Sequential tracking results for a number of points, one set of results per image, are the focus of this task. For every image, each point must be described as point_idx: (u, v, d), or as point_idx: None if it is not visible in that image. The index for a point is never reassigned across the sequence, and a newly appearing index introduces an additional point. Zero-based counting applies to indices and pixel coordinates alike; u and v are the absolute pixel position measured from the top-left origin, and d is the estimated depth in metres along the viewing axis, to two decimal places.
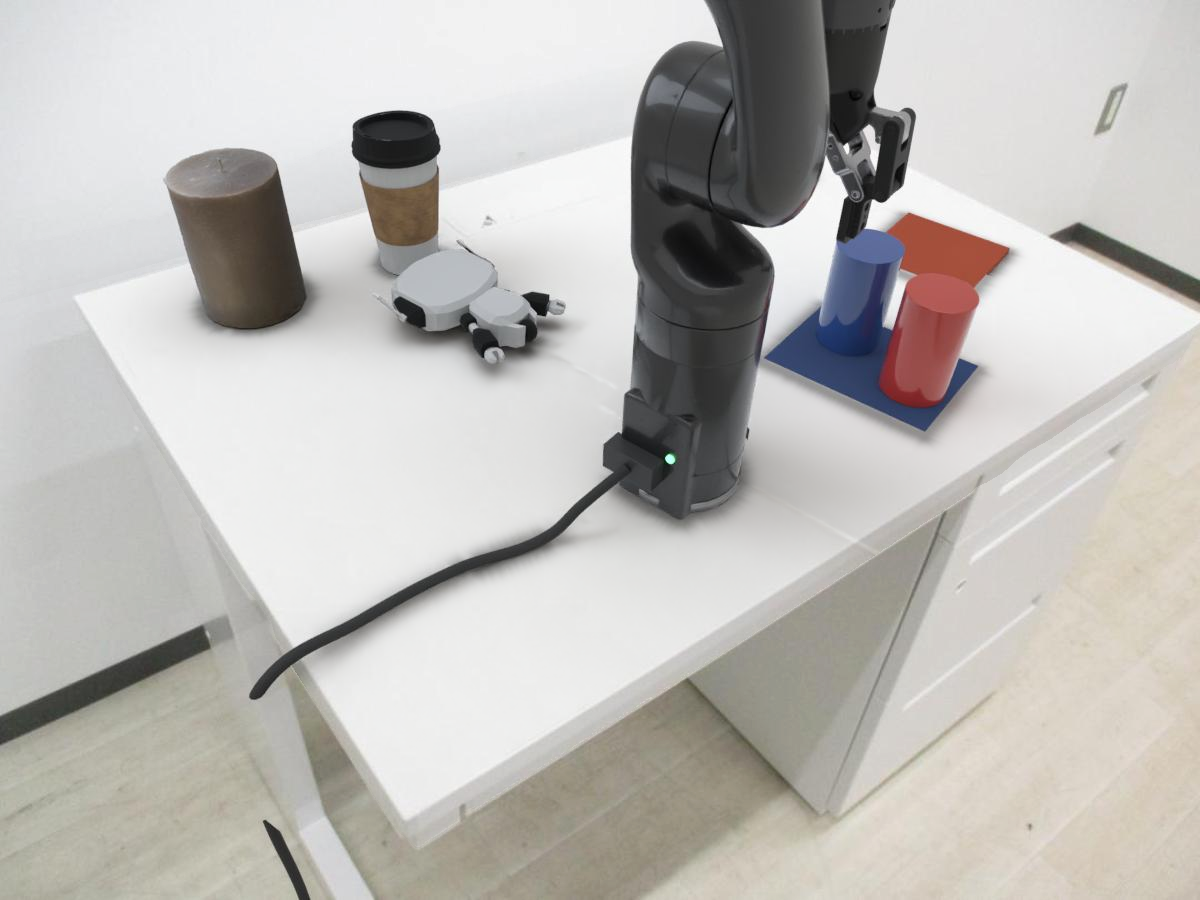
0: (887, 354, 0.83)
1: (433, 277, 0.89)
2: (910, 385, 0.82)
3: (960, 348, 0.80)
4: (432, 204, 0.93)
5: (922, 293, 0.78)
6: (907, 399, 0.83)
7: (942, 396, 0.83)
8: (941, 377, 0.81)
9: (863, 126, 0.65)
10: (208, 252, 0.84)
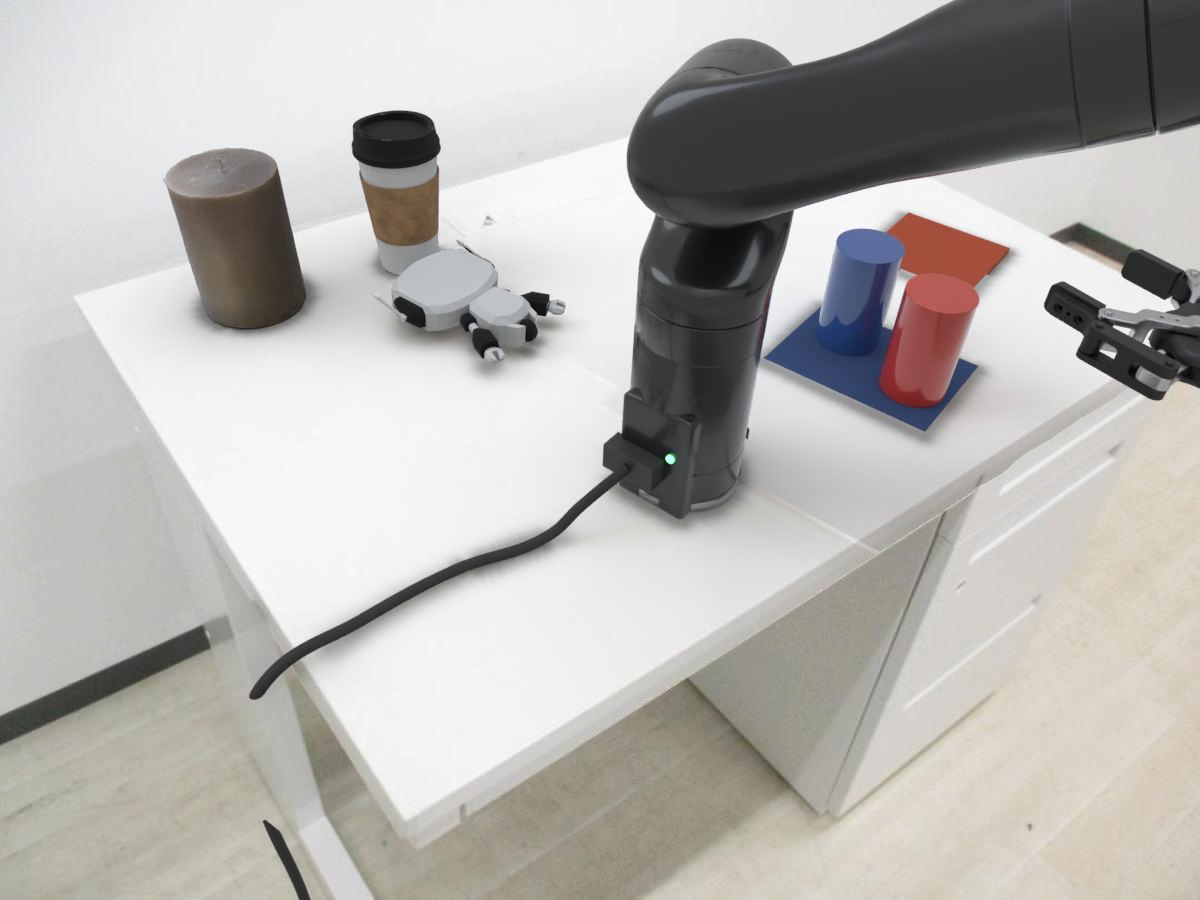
0: (887, 354, 0.83)
1: (433, 277, 0.89)
2: (910, 385, 0.82)
3: (960, 348, 0.80)
4: (432, 204, 0.93)
5: (922, 293, 0.78)
6: (907, 399, 0.83)
7: (942, 396, 0.83)
8: (941, 377, 0.81)
9: (1177, 353, 0.59)
10: (208, 252, 0.84)
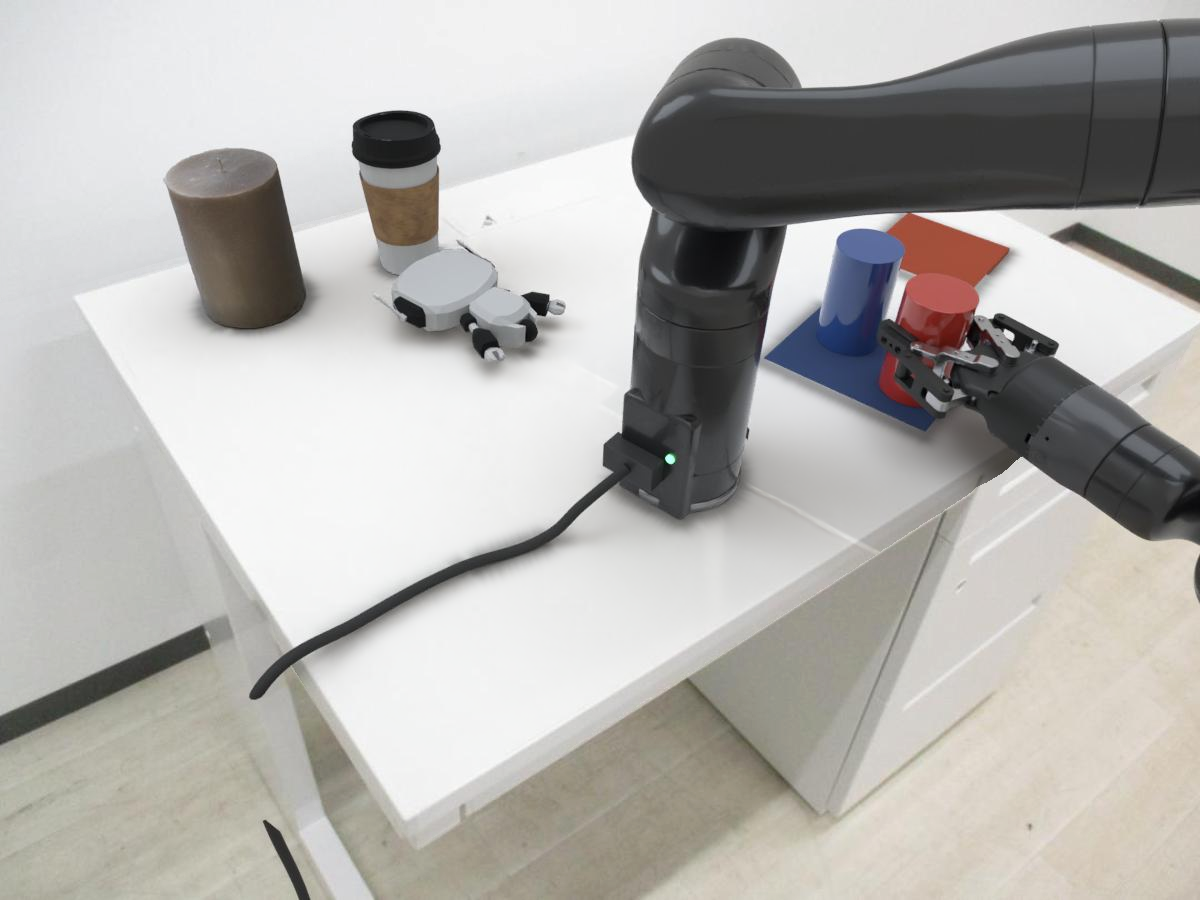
0: (887, 354, 0.83)
1: (433, 277, 0.89)
2: None
3: (960, 348, 0.80)
4: (432, 204, 0.93)
5: (922, 292, 0.78)
6: (907, 399, 0.83)
7: None
8: None
9: (963, 386, 0.75)
10: (208, 252, 0.84)
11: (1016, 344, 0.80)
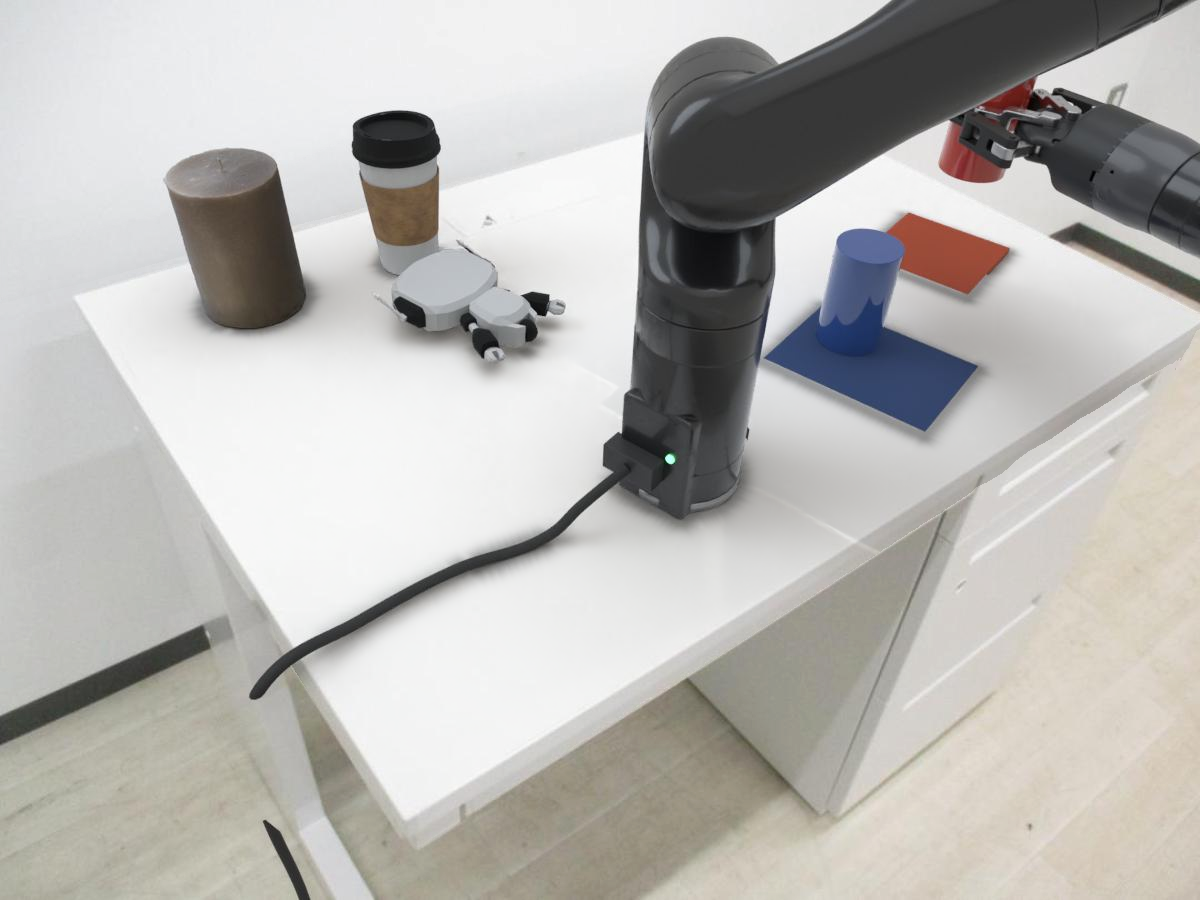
0: (948, 131, 0.86)
1: (433, 277, 0.89)
2: (971, 158, 0.85)
3: None
4: (432, 204, 0.93)
5: None
6: (968, 174, 0.86)
7: (1002, 172, 0.86)
8: None
9: (1027, 137, 0.78)
10: (208, 252, 0.84)
11: None
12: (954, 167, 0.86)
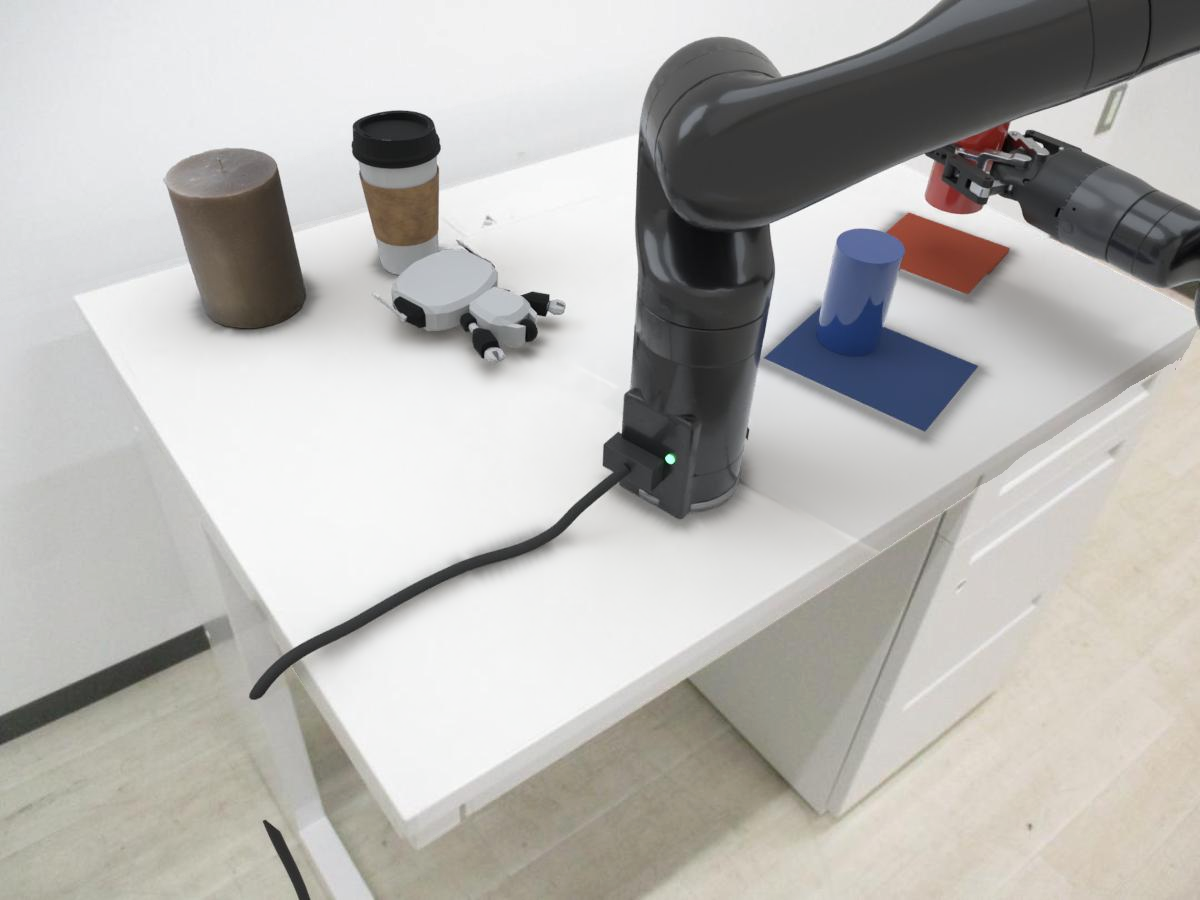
0: (933, 168, 0.97)
1: (433, 277, 0.89)
2: (953, 192, 0.95)
3: None
4: (432, 204, 0.93)
5: None
6: (951, 206, 0.96)
7: None
8: None
9: (1001, 177, 0.88)
10: (208, 252, 0.84)
11: None
12: (938, 200, 0.97)
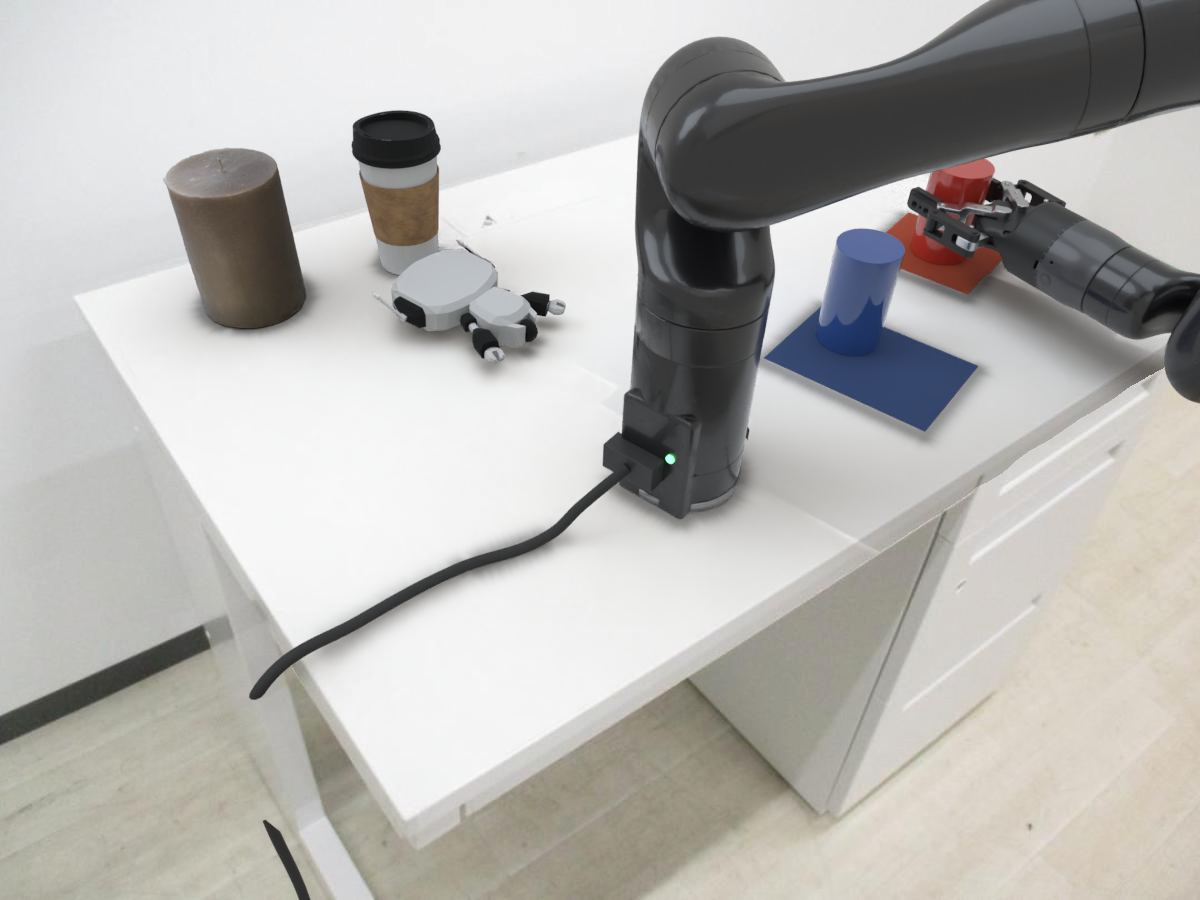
0: (918, 221, 1.01)
1: (433, 277, 0.89)
2: (937, 245, 0.99)
3: None
4: (432, 204, 0.93)
5: None
6: (934, 258, 1.00)
7: None
8: None
9: (983, 228, 0.92)
10: (208, 252, 0.84)
11: (1033, 204, 0.97)
12: (923, 251, 1.01)
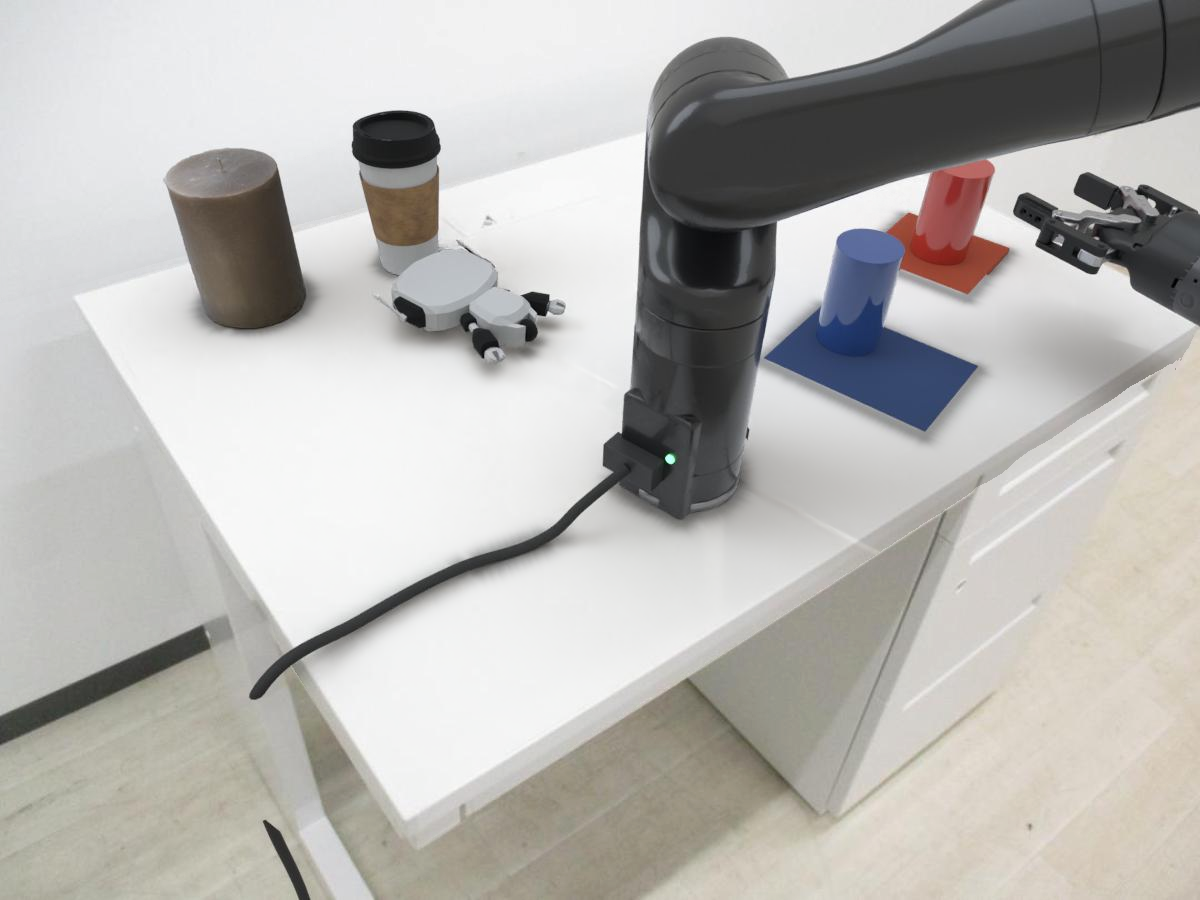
0: (918, 221, 1.01)
1: (433, 277, 0.89)
2: (937, 245, 0.99)
3: (979, 212, 0.97)
4: (432, 204, 0.93)
5: None
6: (934, 258, 1.00)
7: (963, 256, 1.01)
8: (963, 237, 0.99)
9: (1108, 240, 0.80)
10: (208, 252, 0.84)
11: None
12: (923, 251, 1.01)
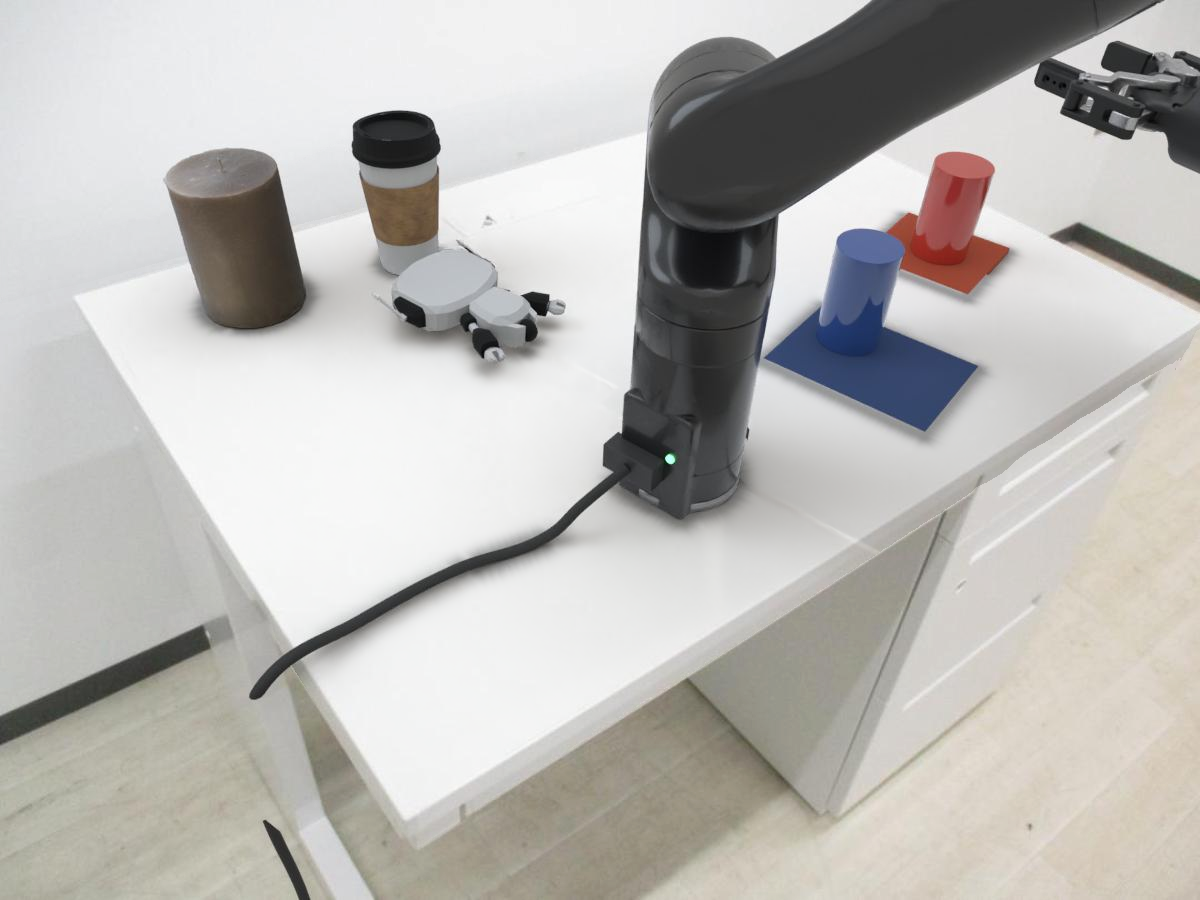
0: (918, 221, 1.01)
1: (433, 277, 0.89)
2: (937, 245, 0.99)
3: (979, 212, 0.97)
4: (432, 204, 0.93)
5: (948, 164, 0.96)
6: (934, 258, 1.00)
7: (963, 256, 1.01)
8: (963, 237, 0.99)
9: (1144, 102, 0.71)
10: (208, 252, 0.84)
11: None
12: (923, 251, 1.01)
